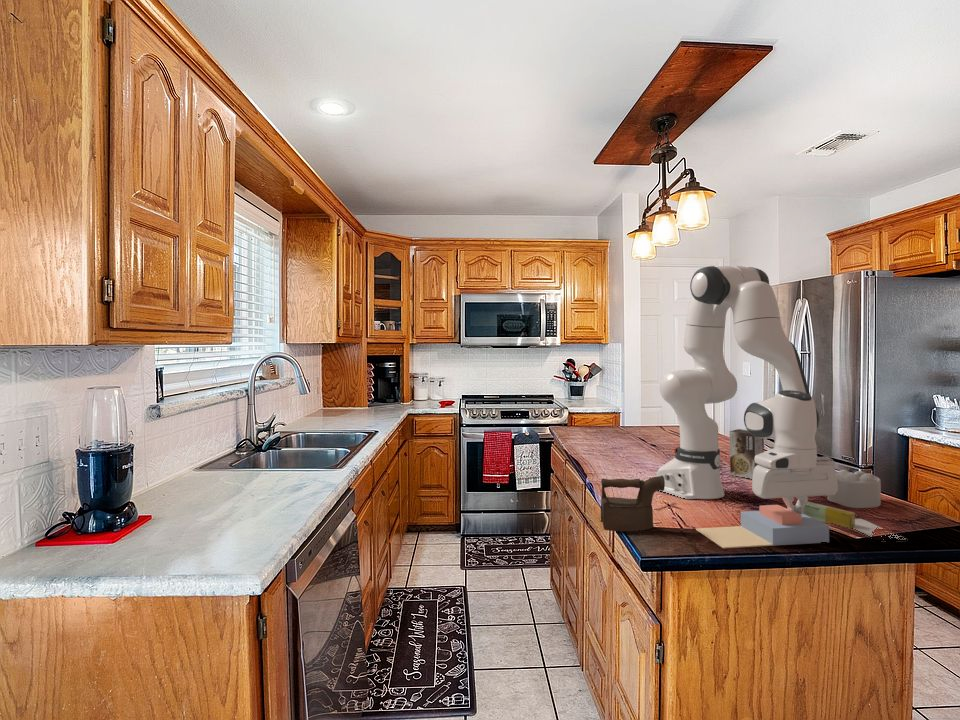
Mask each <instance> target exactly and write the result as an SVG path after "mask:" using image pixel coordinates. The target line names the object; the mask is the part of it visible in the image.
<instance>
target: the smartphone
mask: <svg viewBox="0 0 960 720" xmlns="http://www.w3.org/2000/svg"><path fill="white" fill-rule="evenodd" d="M877 527H878V528H879V529H883V528H884V527H882V526H880V525H878V524H875V523H873V522H871V521H868V520H867V519H864V518H858V517H857V518H856V517H855V526H854V527H852V528H853V529H852V530H854V529H856V530H858V531H860V532H862V533H864V534H866V535H868V536H870V537H872V535H873V533H872V531H873V532H874V530H875V529H876V528H877ZM878 528H877V529H878ZM856 530H855V531H856ZM858 531H857V532H858ZM860 532H859V533H860ZM862 533H861V534H862ZM864 534H863V535H864ZM871 534H872V535H871ZM874 534H875V533H874ZM888 534H889V533H888ZM890 534H891V535H892V533H890ZM897 534H898V533H896V535H894V534H893V535H892V536H895V537H894V538H896V539H898V538H899V537H903V538H904V537H905V536H902V535H900V536H898V535H899V534H898V535H897ZM866 535H865V536H866ZM891 535H890V536H888V537H889V538H890V537H891ZM868 536H867V537H868ZM885 536H886V535H885ZM896 536H897V537H896ZM870 537H869V538H870ZM881 537H882V536H881ZM891 538H893V537H891ZM891 538H890V539H891ZM903 538H902V539H900V538H899V539H900V540H906V539H907V540H908V538H906V537H905V538H904V539H903ZM899 539H898V540H899ZM883 540H884V539H883Z"/></svg>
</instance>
